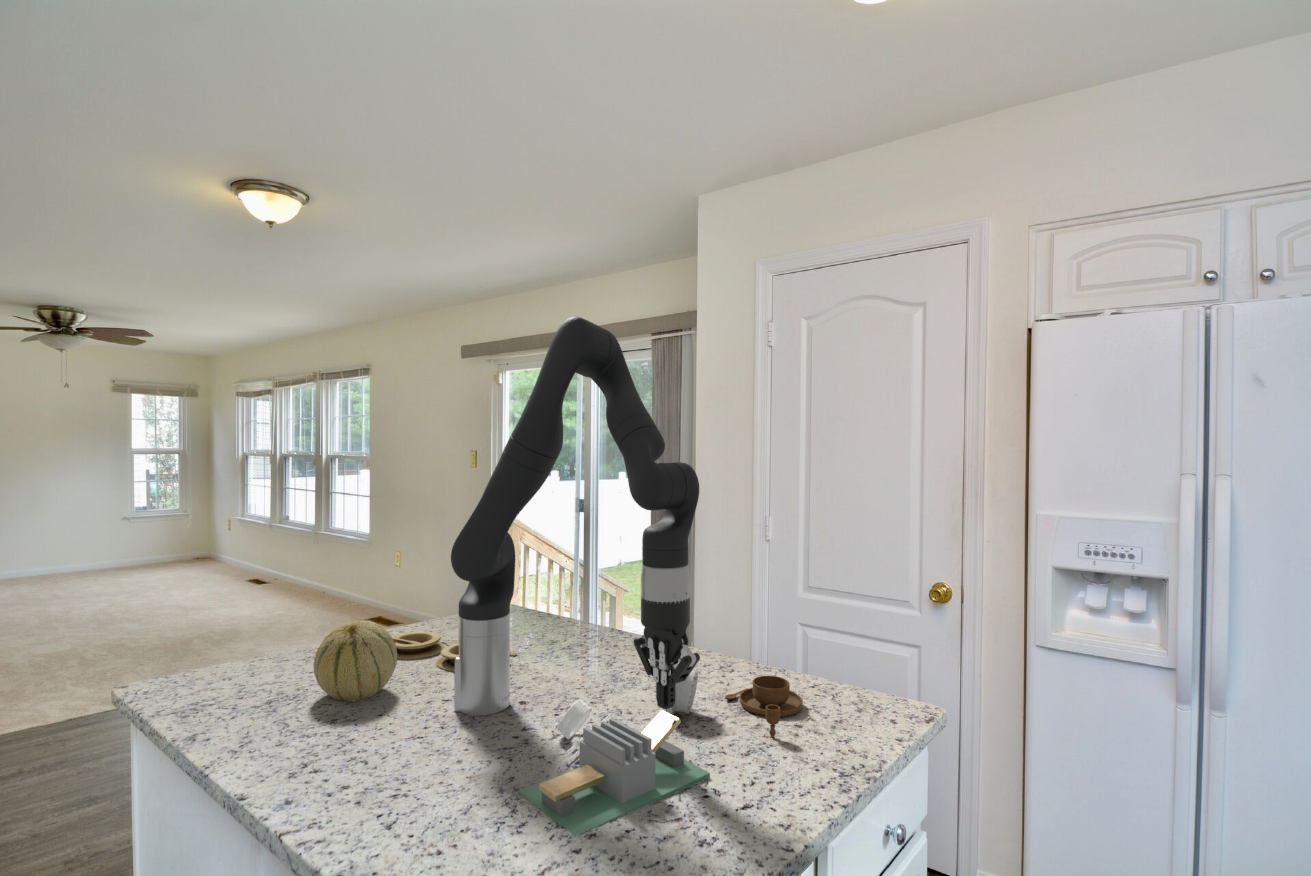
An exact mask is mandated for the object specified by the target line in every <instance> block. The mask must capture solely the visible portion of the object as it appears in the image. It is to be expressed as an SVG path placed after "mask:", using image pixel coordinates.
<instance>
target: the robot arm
mask: <svg viewBox="0 0 1311 876" xmlns="http://www.w3.org/2000/svg"><path fill="white" fill-rule="evenodd" d="M617 339H618V338H617V337H616V336H615V334H613V333H612V332H610V331H609V330H608V329H606V328H604V327H602V326H600V325H598V324H596V323H593V322H592V321H589V320H587V319H586V318H583V317H580V316H572V317H569V318H567V319H566V320H565V321H563V322H562V324H561V325H560V326H559V327H558V328H557V331H556V332H555V333H554V335H553V338H552V340H551V341H550V345H549V346H548V349H547V352H546V355H545V357H544V359H543V360H544V361H543V363H542V365H541V368H540V370H539V371H540V372H539V374H538V376H537V378H536V382H535V384H534V386H533V389H532V391H531V394H530V396H529V397H528V400H527V402H526V405H525V407H524V409H523V411H522V413H521V415H520V417H519V419H518V421H517V423H516V425H515V427H514V429H513V431H512V432H511V434H510V436H509V438H508V441H507V443H506V444H505V446H504V449H503V451H502V453H501V455H500V457H499V460H498V462H497V464H496V466H495V468H494V470H493V472H492V474H491V475H490V478H489V481H488V482H487V485H486V486H485V489H484V491H483V494H482V495H481V498H480V500H479V501H478V502H477V505H476V507H475V509H473V511H472V513H471V515H470V516H469V518H468V519H467V521H466V523H465V524H464V526H463V527H462V529H461V531H460V532H459V534H458V535H457V536H456V539H455V541H454V542H453V545H452V548H451V553H450V563H451V567H452V569H453V572H454V573H455V575H456V576H457V577H458V578H459V579H460V580H463V581H465V582H468V585H467V588H466V590H465V591H464V594H462V596H461V597H460V599H459V601H458V642H459V656H458V657H457V658H456V659H455V665H454V666H455V672H454V701H453V702H454V705H453V706H454V707H453V708H454V709H453V710H454V711H455V712H459V713H463V714H464V715H469V716H489V715H490V716H491V715H494V714H498V713H500V712H503V711H504V710H506V709H507V708H508V707H510V706H509V705H510V695H511V693H510V685H511V684H510V676H511V675H510V673H511V671H510V670H511V669H510V668H511V666H510V664H511V663H510V662H511V661H510V660H511V658H510V657H511V656H510V652H511V650H510V648H511V647H510V646H511V642H510V641H511V640H510V639H511V638H510V637H511V633H510V631H511V630H510V629H511V628H510V626H511V623H510V622H511V619H510V618H511V614H510V613H511V602H512V599H513V597H514V592H515V579H516V578H515V575H516V574H515V573H516V549H515V543H514V540H513V537H512V536H511V534H510V533H509V531H510V529H511V526H512V525H513V523H514V521H515V519H516V518H517V516H518V515H519V514H520V512H521V511H522V510H523V509H524V508H525V507H526V505H528V503H529V502H530V501H531V500H532V499H533V497H534V496H535V495H536V494H537V493H538V491H540V489H541V487H542V486H543V485H544V483H545V482H546V481H547V479H548V477H549V476H550V474H551V472H552V470H553V468H554V466H555V464H556V462H557V461H558V459H559V456H560V454H561V451H562V448H563V443H564V421H563V420H564V419H563V418H564V417H563V408H564V407H563V405H564V400H565V396H566V393H567V391H568V389H569V387H570V385H571V382H572V380H573V377H574V376H575V374H578V375H581V376H582V377H585V378H590V379H591V380H592V381H593V382H594V384H596V385H597V387H598V388H599V389H600V391H601V392H602V394H603V395H604V398H605V401H606V406H605V407H606V411H605V412H606V413H605V416H606V423H607V427H608V431H609V432H610V433H609V434H610V435H611V437H612V438H613V441H614V443H615V445H616V446H617V448H618V450H619V452H620V454H621V455H622V457H623V461H624V466H625V471H626V476H627V480H628V481H627V482H628V487H629V492H630V495H631V498H632V499H633V500H634V502H635V503H636V505H638V506H639V507H641V508H642V509H643V510H647V511H662V510H664V511H663V514H662V516H661V518H660V520H659V521H658V522H656V523H653V524H651V525H649V526H647V527H646V528H645V529H644V530H643V532H642V539H641V540H642V541H641V542H642V547H641V549H642V552H641V553H642V554H641V555H642V556H641V558H642V565H641V566H642V567H641V575H640V624H641V625H642V627H644V629H643V635H642V636H639V637H637V638H634V640H633V645H634V647H635V650H636V652H637V654H638V656H639V660H640V661H641V664H642V666H643V668H644V670H645V673H646V675H647V676H652V677H653V682H655V696H656V697H655V700H656V702H657V704H656V705H657V707H658V708H660V709H663V710H664V711H666V709H669V708H671V707H673V706H674V704H675V685H676V684H677V683H679V682H682V681H685V680H686V679H687V677H688V676H689V674H690V673H691V671H692V670H694V668H695V667H696V666H697V665H698V663H699V661H700V660H701V656H700V654H699V653H698V652H695V653H693V651H692V649H690V647H689V638H688V635H687V628H688V627H689V625H690V623H691V576H690V568H689V567H690V566H689V537H690V534H691V529H692V525H693V522H694V518H695V515H696V514H695V513H696V509H697V507H698V503H699V498H700V481H699V477H698V476H697V473H696V471H695V470H694V468H693V467H692V466H691V465H690V464H688V463H686V462H682V461H681V462H677V461H676V462H675V461H674V462H657V463H656V461H658V460H659V459H660V458H661V456H662V455H663V454H664V452H665V449H666V442H665V440H664V437H663V435H662V433H661V431H660V430H659V428H658V427H657V424H656V423H655V422H654V420H653V418H652V416H651V415H650V413H649V411H648V409H647V408H646V406H645V405H644V402H643V401H642V399H641V397H640V394H639V392H638V390H637V388H636V385H635V383H634V381H633V378H632V375H631V372H630V370H629V367H628V365H627V362H626V359H625V354H624V353H623V351H622V348H621V345H620V343H619V341H618V340H617Z"/></svg>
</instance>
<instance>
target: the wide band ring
mask: <svg viewBox="0 0 1311 876" xmlns="http://www.w3.org/2000/svg"><path fill="white" fill-rule="evenodd" d="M591 713H592V707H590V706H589V705H588V704H587V703H586V702H584V700H582V699H578V700H576V702H574V703H573V704H572V705H571V706H570V707H569V708H568V710H566V712H565V713H564V714H563V716H562V717H561V718H560V721H559V722H558V721H557V720H555V718H552V719H551V720H550V721H549V722H548V723H547V726H548V727H550V728H551V729H553V728H554V727H556V730H557V732H559V733H560V734H561V735H562V736H563V737H564V738H565V739H567V740H570V739H572V738H573V736H575V735H576V734H577V733H578V732H579V731H580V729H581V728H582V726H584V724H585V723H586V722H587V720H588V719H589V717H590V716H591ZM614 716H615V714H614V713H612V712H610V713H609V714H608V715H607V716H606V717H604V718H603V719H602V720H600V721H599V723H597V725H598V726H600V727H601V722H603V721H605V722H608V721H609V719H611V718H613V719H614ZM620 722H621V723H623V724H625V725H627V726H628V723H626V722H625V721H624V720H623V721H620ZM582 740H583V736H582V737H581V738H580V739H578V741H576V743H574V744H573V745H572V746H571V747H569V748H568V749H567V750H566V751H565V753H564V754H566V755H567V756H570V754H572V753H573V752H574V751H575V750H576V749H577V748H578V747H580V741H582ZM579 756H580V748H579V749H577V751H576V752H575V753H573V754H572V755H571V756H570V757H569V758H568V759H567V760H565V762H564V763H566V764H567V765H568V766H570V764H571V763H573V761H575V760H576V759H577V758H578V757H579Z"/></svg>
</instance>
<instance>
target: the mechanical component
mask: <svg viewBox="0 0 1311 876" xmlns="http://www.w3.org/2000/svg"><path fill="white" fill-rule="evenodd" d="M698 680H699V672H698V671H697V670H696V669H695V670H694V669H693V670H692V671H691V673H690V674H689V676H688V677H687V679H686V680H685V681H682V682H679V683H677V684H676V685H675V704H674V706H673V707H671V708H669V709H666V710H665V712H667V713H669V714H671V715H673V716H675V715H674V714H675V713H676V712H679V713H683V714H687V715H688V714H690V712H691V709H692V708H693V707H692V706H693V704H694V701H695V697H696V691H697V686H698Z"/></svg>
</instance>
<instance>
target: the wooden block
mask: <svg viewBox="0 0 1311 876" xmlns="http://www.w3.org/2000/svg"><path fill="white" fill-rule="evenodd" d="M681 723H682V721H681V719H680V718H679V717H677V716H676V715H671V714H669V713H667V712H666V710H664V709H663V710H662V709H660V711H659V712H658V713H657V714H656V716H654V718H653V719H652V720H651V721H650V722H649V723H648V724H647V726H646V727H644V729H643V730H642V731H641V732H640V733H642V734H644V735H646V736H647V737H649V738H651V739H652V752H654V753H655V752H656V751H657V750H658V748H659V747H660V746H661V745H662V744H663V743H664V741H667V739H669V737H670V736H671V734H672V733H673V732H674V731H675V730H676V728H677V727H678V726H679V725H680V724H681Z"/></svg>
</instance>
